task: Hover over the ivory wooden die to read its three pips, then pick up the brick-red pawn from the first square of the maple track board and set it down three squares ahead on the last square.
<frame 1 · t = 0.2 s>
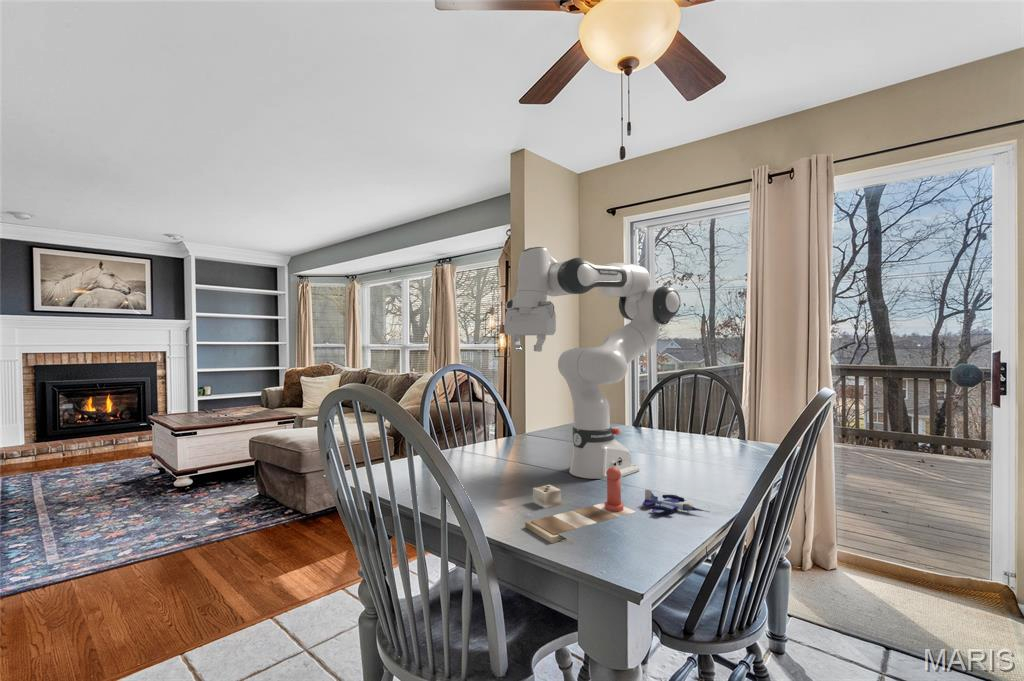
hand: (527, 351, 138), 39 cm above the table, tool pointing down, fingers open, 8 cm apart
toy airplane: (672, 516, 114), on the table
track board: (584, 522, 111), on the table
die: (547, 509, 120), on the table
pawn: (614, 508, 115), point 1 cm above the table, touching track board
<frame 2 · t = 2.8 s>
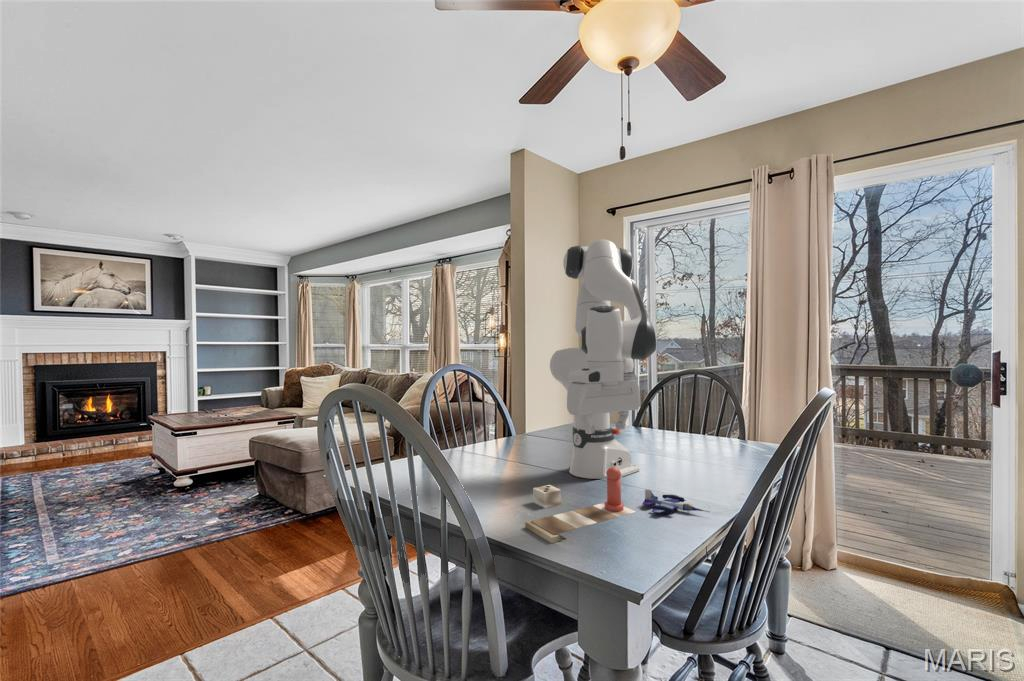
hand: (605, 431, 116), 20 cm above the table, tool pointing down, fingers open, 8 cm apart
nothing on the table moved.
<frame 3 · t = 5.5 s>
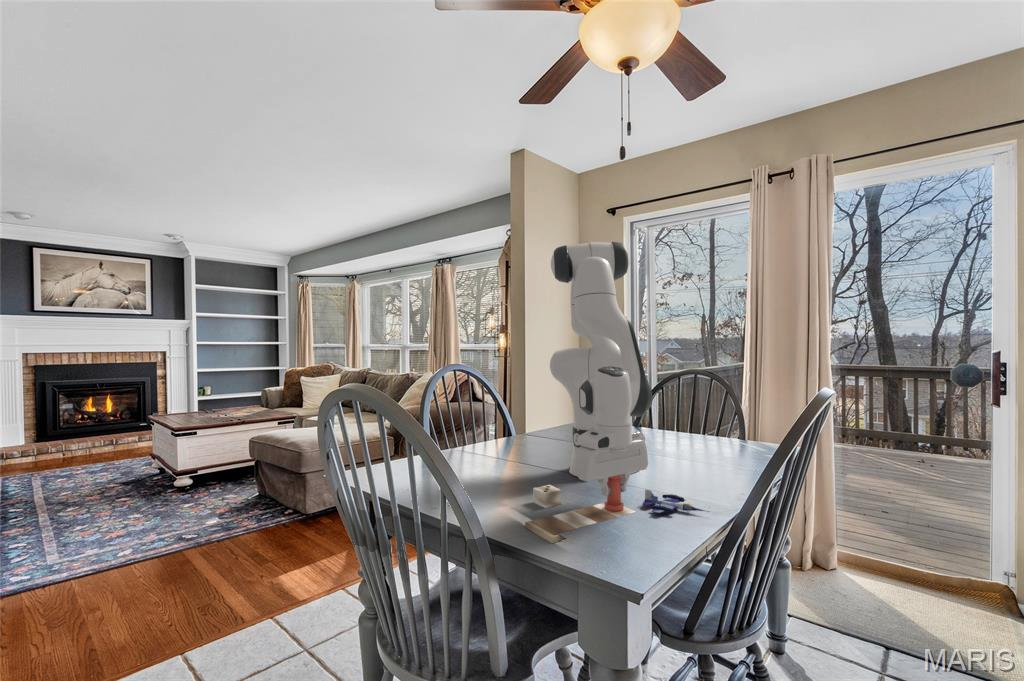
hand: (613, 493, 115), 5 cm above the table, tool pointing down, fingers closed on pawn, 3 cm apart
pawn: (614, 508, 115), point 1 cm above the table, touching gripper, track board
everything else where it was.
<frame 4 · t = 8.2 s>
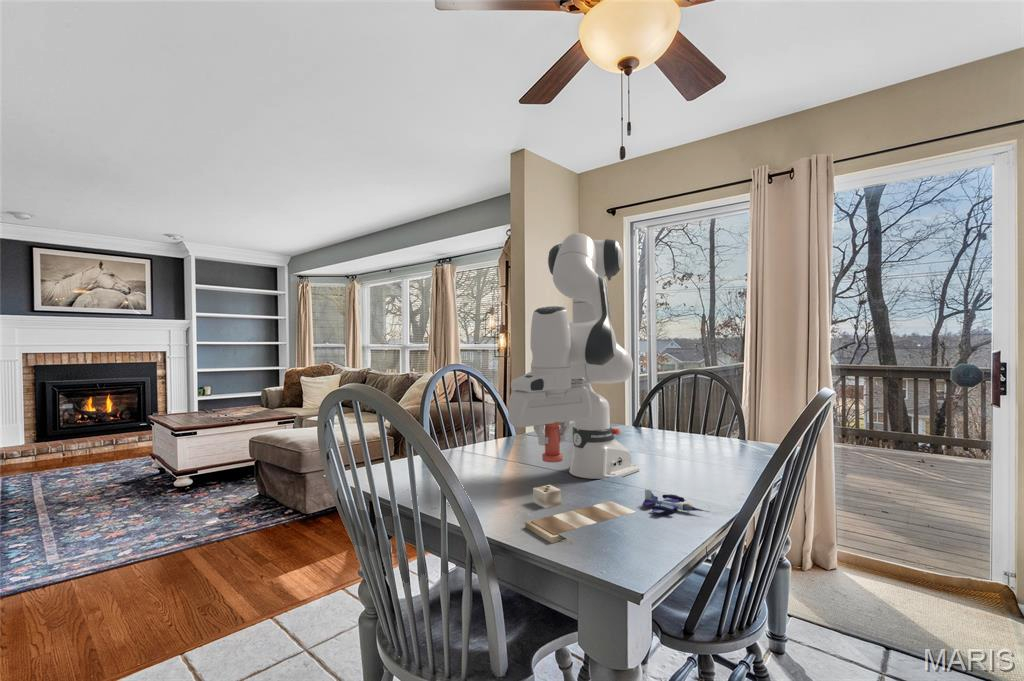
hand: (551, 443, 106), 19 cm above the table, tool pointing down, fingers closed on pawn, 3 cm apart
pawn: (552, 459, 106), point 16 cm above the table, touching gripper
everything else where it was.
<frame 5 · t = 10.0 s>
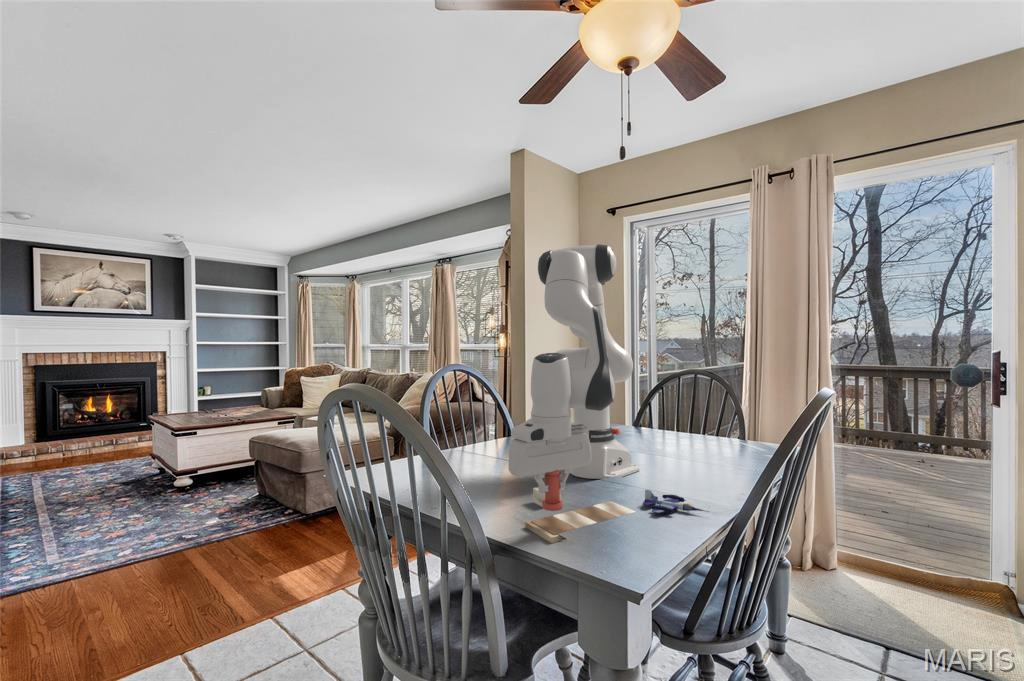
hand: (552, 490, 106), 9 cm above the table, tool pointing down, fingers closed on pawn, 3 cm apart
pawn: (552, 507, 106), point 5 cm above the table, touching gripper
everything else where it was.
when the fingers open (6 cm above the table, at t = 11.2 s): pawn drops 1 cm, resting on track board.
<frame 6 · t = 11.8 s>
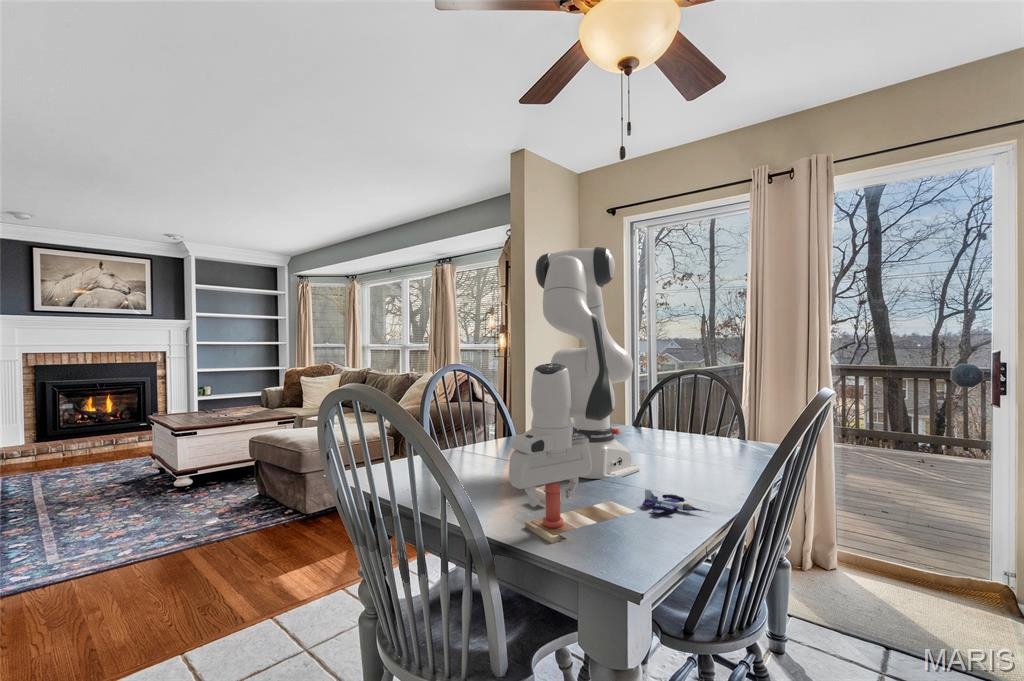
hand: (552, 501, 106), 6 cm above the table, tool pointing down, fingers open, 8 cm apart
pawn: (553, 524, 106), point 1 cm above the table, touching track board
everything else where it was.
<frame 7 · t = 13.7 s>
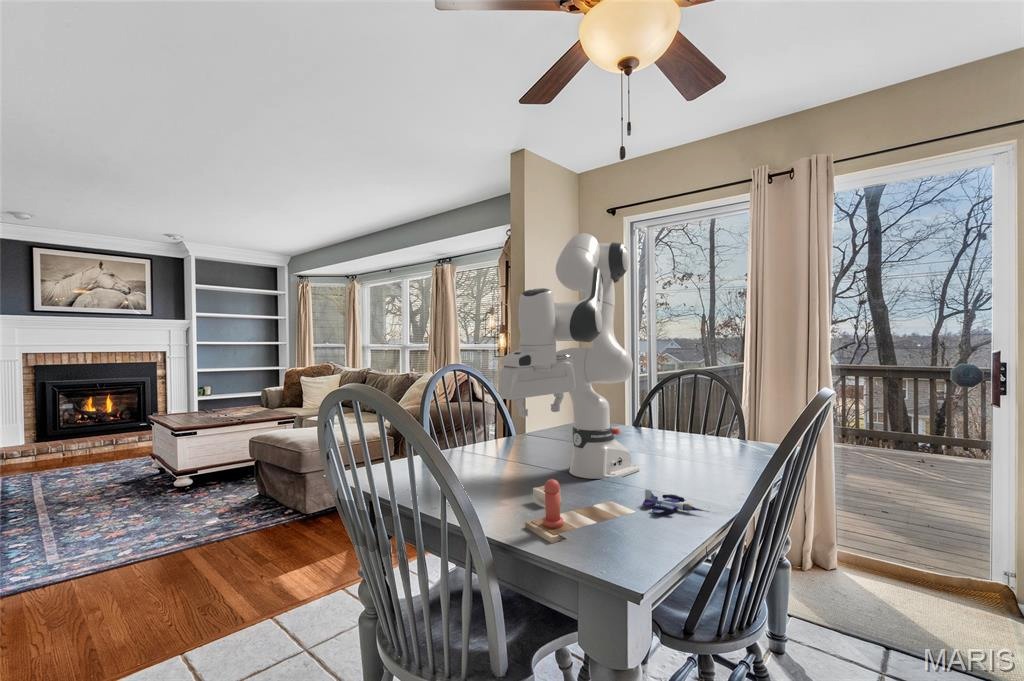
hand: (539, 414, 116), 24 cm above the table, tool pointing down, fingers open, 8 cm apart
nothing on the table moved.
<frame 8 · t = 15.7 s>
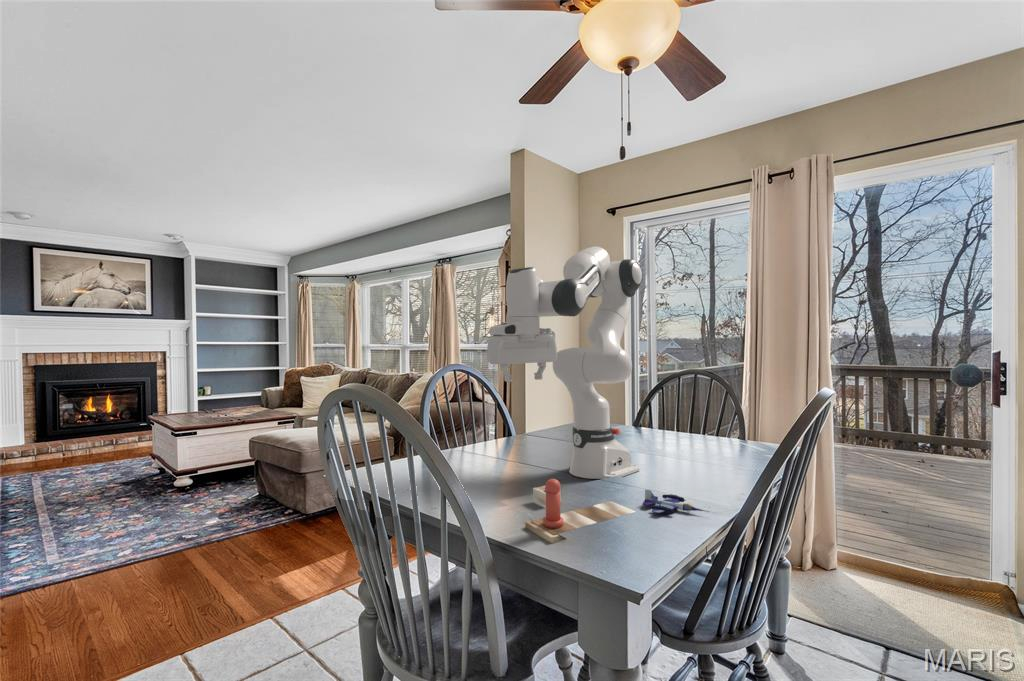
hand: (523, 380, 128), 31 cm above the table, tool pointing down, fingers open, 8 cm apart
nothing on the table moved.
at the end: pawn 0.1 cm from the target spot on the track board, point 1.5 cm above the track board's base; pawn tilted 1°; die moved 0.1 cm from its start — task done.
